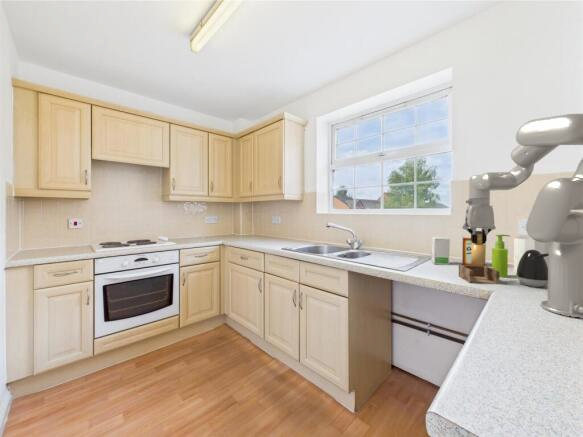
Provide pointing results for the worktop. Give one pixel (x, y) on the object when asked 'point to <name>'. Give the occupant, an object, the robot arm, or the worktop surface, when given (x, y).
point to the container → (528, 248)
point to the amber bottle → (478, 250)
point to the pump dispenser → (533, 269)
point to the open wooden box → (479, 274)
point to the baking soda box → (467, 251)
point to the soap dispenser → (500, 257)
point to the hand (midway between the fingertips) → (478, 242)
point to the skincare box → (440, 250)
